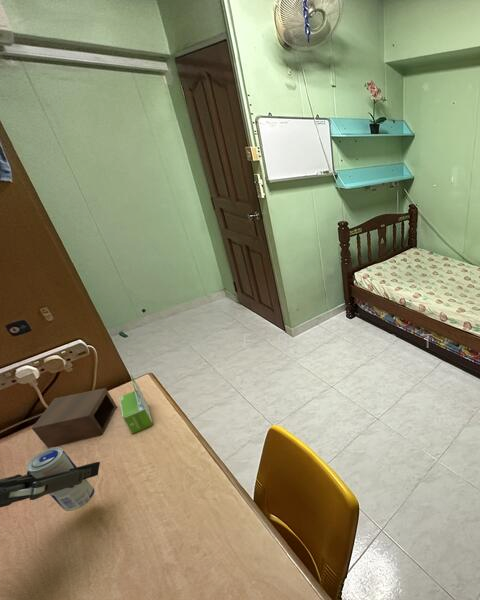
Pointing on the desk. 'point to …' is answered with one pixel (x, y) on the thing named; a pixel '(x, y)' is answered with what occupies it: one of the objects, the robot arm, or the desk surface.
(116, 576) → the desk surface
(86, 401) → the walnut shelf
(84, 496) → the beverage can
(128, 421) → the ink box
